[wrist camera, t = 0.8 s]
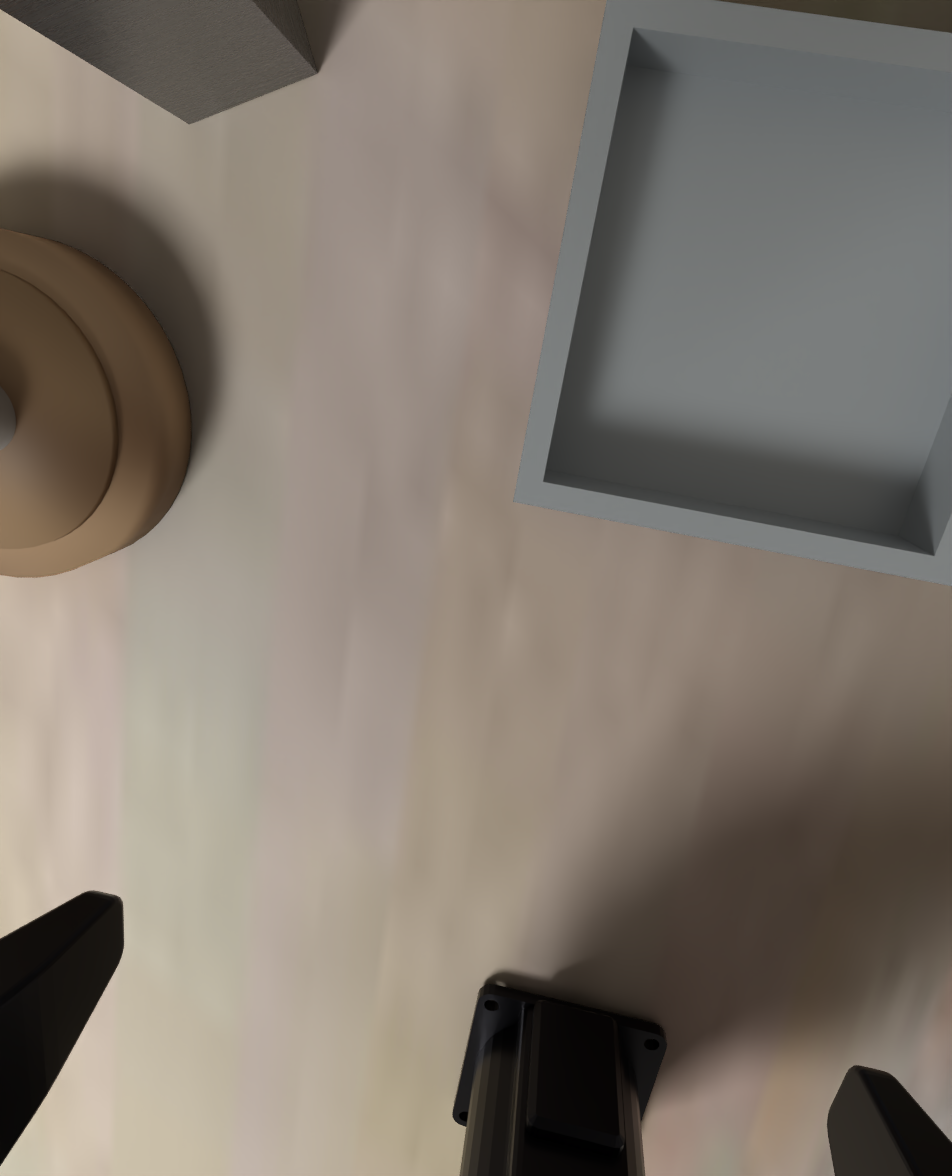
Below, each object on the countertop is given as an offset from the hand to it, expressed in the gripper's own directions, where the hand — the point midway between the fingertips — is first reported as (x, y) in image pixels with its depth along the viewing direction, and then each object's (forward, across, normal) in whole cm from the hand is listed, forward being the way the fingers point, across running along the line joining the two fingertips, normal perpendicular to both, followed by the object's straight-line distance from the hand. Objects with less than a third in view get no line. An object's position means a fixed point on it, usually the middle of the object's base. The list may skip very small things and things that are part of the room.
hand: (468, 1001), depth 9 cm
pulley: (+13, +15, -4) cm, 20 cm away
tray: (+13, -4, -9) cm, 16 cm away
